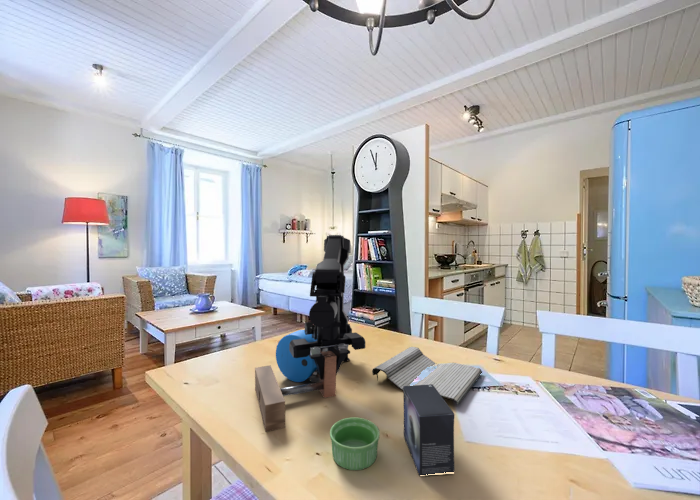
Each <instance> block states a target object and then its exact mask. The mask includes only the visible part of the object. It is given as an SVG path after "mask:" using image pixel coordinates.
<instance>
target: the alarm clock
mask: <svg viewBox="0 0 700 500" xmlns="http://www.w3.org/2000/svg"><path fill="white" fill-rule="evenodd" d="M304 338H305V339H306V340H307V341H308V342H316V341H317V339H316V340H315V339H314V338H312V334H309V335H305V329H300V330H299V329H298V330H296V331H294V332H291V333H289V334H286V335H284V336H283V337H282V338H280V340H279V341H278V343H277V345H276V350H275V359H276V364H277V367H278V369H279V371H280V373H282V375H283V376H284V377H285V378H286V379H288V380H289V381H290V382H293V383H302V382H305V381H307V380H308V379H309V381H310V382H311V383H317V382H320V376H319V373H318V370H317V367H316V364H315V361H314V359H311V358H310V357H309V355H308V356H307V357H301V358H293V356H292V354H291V353H290V351H289V344H290V342H291V340H296V339H304ZM326 351H327V348H324V349H320V352H326Z"/></svg>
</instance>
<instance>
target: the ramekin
mask: <svg viewBox="0 0 700 500" xmlns="http://www.w3.org/2000/svg"><path fill="white" fill-rule="evenodd" d="M329 437H330V442H331V453H332V454H331V455H332V458H333V461H334V462H335V463H336V464H337V465H338V466H340V467H341V468H342V469H346V470H350V471H359V470H360V471H361V470H364V468H365V469H367V468H369V467H370V466H372V465H373V464H374V463H375V461H376V460H377V459H376V458H377V455H378V447H379V446H378V445H379V440H380V429H379V427H378V426H377V425H376V424H375V423H374V422H373V421H371V420H369V419H366V418H364V417H354V416H353V417H346V418H342V419H340V420H338V421H336V422H335V423H334V424H333V425H332V426H331V427H330V430H329Z"/></svg>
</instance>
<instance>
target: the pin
mask: <svg viewBox="0 0 700 500" xmlns="http://www.w3.org/2000/svg"><path fill="white" fill-rule="evenodd" d="M320 353H321V354H322V355H323V379H322V380H321V378H320V381H318V382H311V383H305V384H300V385H294V386H286V387H280V390H281V392H282V395H283V397H287V396H291V395H298V394H304V393H309V392H310V393H311V392H315V391H319V392H320V394H321V396H322V397H323V398H325V399H326V398H330V397H336V394H337V390H336V389H337V387H336V386H337V375H336V355H335V354H334V353H333V352H332V351H326V352H320Z"/></svg>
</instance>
